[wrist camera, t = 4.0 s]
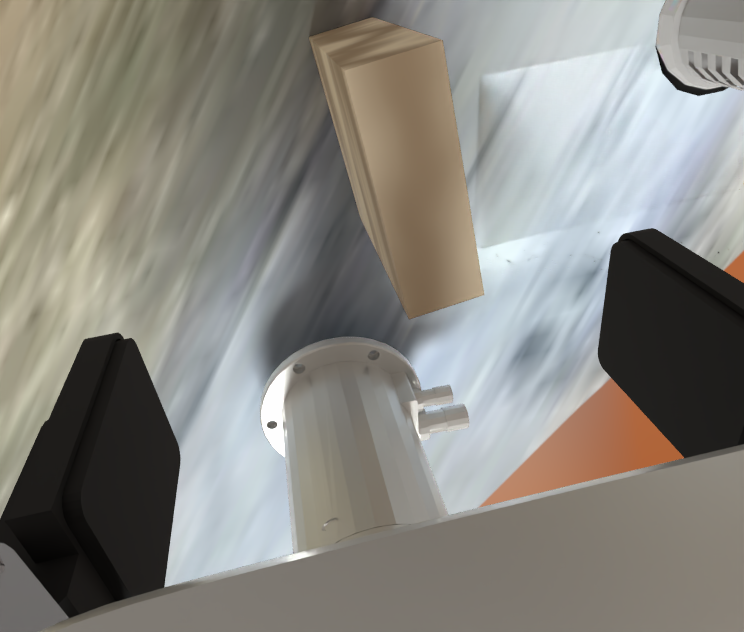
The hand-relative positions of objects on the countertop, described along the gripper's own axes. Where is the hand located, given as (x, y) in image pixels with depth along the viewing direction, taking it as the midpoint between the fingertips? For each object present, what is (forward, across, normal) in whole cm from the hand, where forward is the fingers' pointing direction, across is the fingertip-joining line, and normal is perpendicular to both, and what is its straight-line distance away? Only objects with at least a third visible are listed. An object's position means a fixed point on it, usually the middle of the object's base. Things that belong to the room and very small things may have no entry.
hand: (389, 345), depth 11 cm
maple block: (+28, -4, +3) cm, 29 cm away
